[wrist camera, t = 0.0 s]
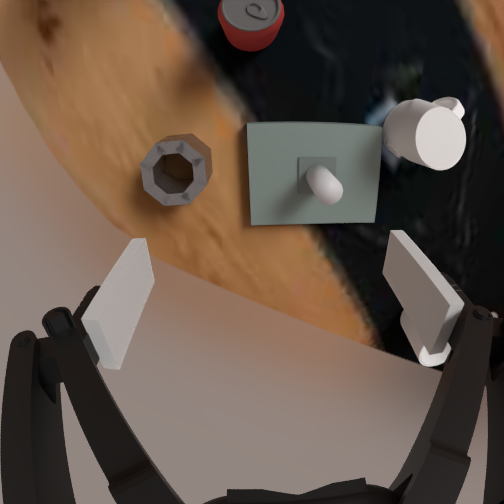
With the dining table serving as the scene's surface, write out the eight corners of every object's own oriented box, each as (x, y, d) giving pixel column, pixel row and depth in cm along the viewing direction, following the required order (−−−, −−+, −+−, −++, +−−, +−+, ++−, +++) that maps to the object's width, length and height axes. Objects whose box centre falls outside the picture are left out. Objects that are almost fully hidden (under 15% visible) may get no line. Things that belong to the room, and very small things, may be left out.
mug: (390, 319, 56) (408, 357, 47) (426, 283, 52) (451, 317, 43) (422, 340, 59) (440, 374, 50) (455, 309, 55) (477, 341, 46)
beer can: (253, 61, 35) (254, 49, 24) (214, 32, 33) (200, 10, 22) (287, 28, 32) (301, 4, 22) (248, -1, 30) (247, -33, 20)
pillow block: (246, 122, 39) (246, 130, 31) (377, 125, 39) (405, 135, 31) (251, 219, 46) (251, 249, 38) (369, 217, 45) (392, 244, 37)
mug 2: (433, 187, 33) (398, 138, 31) (401, 167, 42) (369, 127, 39) (488, 130, 29) (459, 79, 26) (451, 119, 37) (422, 77, 35)
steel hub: (152, 137, 40) (137, 145, 34) (209, 132, 39) (203, 138, 34) (158, 192, 43) (146, 207, 38) (213, 188, 43) (208, 203, 38)
